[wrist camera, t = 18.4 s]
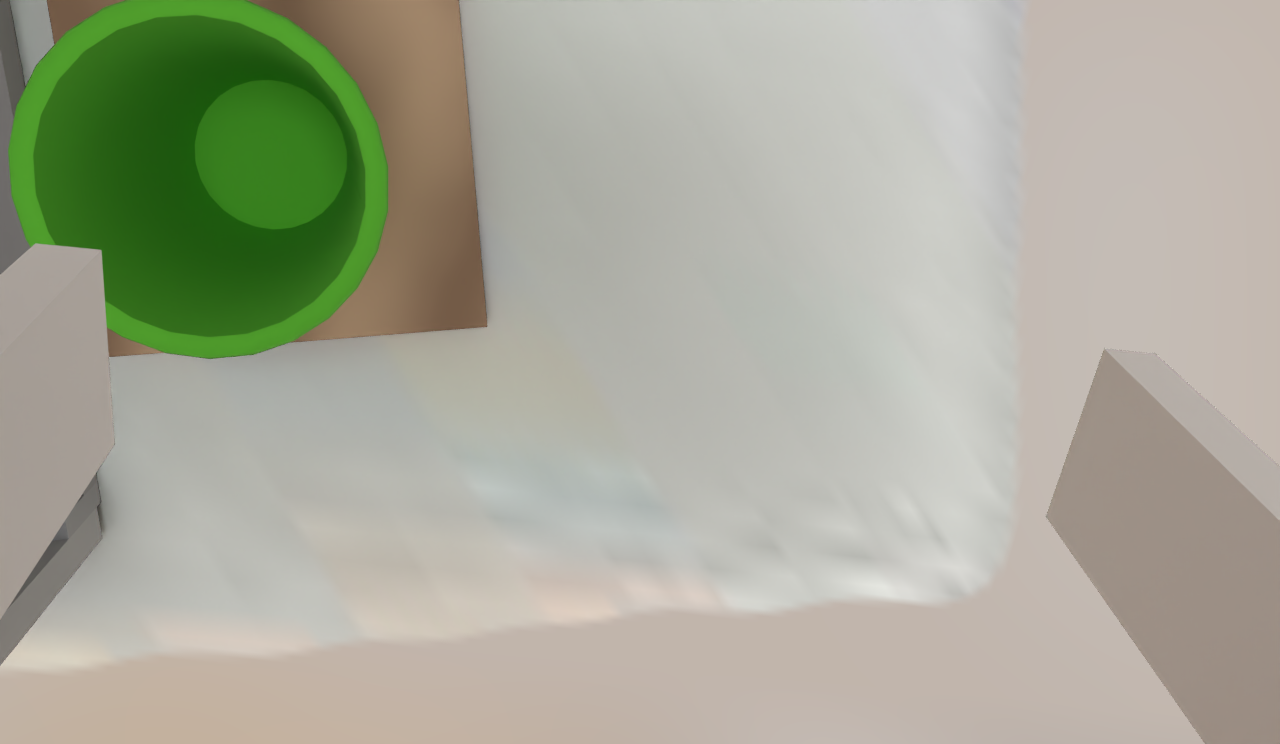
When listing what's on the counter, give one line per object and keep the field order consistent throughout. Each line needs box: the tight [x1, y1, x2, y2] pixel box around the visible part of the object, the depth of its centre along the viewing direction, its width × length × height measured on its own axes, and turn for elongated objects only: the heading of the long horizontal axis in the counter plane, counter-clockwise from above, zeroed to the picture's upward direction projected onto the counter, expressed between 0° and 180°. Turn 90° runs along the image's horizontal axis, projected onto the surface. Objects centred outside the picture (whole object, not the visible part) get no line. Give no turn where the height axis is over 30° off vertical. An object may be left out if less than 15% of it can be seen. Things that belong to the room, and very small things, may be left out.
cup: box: [8, 0, 388, 359], centre depth 34 cm, size 9×9×11 cm
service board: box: [47, 0, 487, 357], centre depth 40 cm, size 13×13×1 cm
